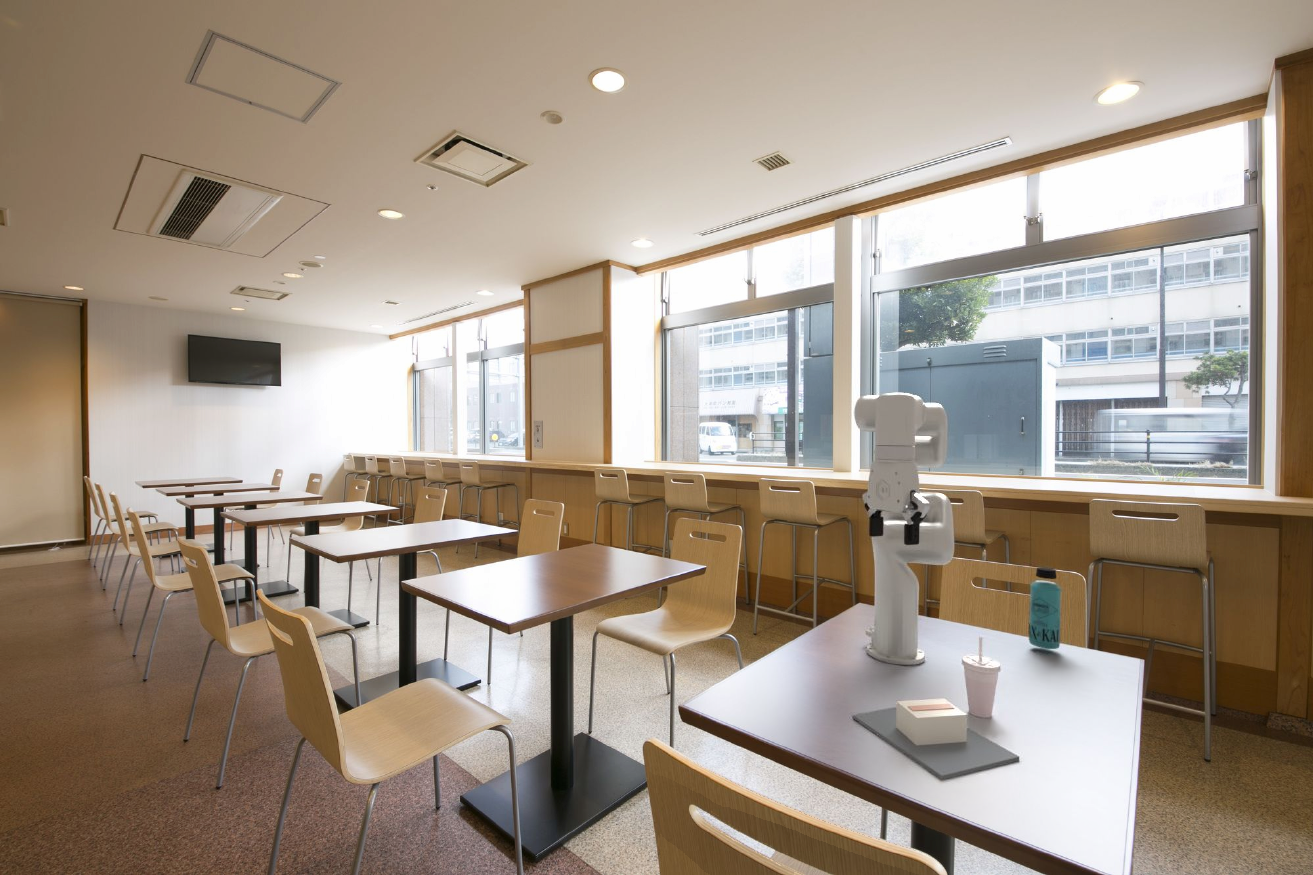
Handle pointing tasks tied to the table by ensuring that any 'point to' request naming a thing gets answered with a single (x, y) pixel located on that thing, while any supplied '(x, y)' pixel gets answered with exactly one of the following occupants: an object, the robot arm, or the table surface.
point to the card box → (931, 721)
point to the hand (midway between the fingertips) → (893, 540)
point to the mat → (939, 747)
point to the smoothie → (980, 682)
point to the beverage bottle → (1045, 611)
